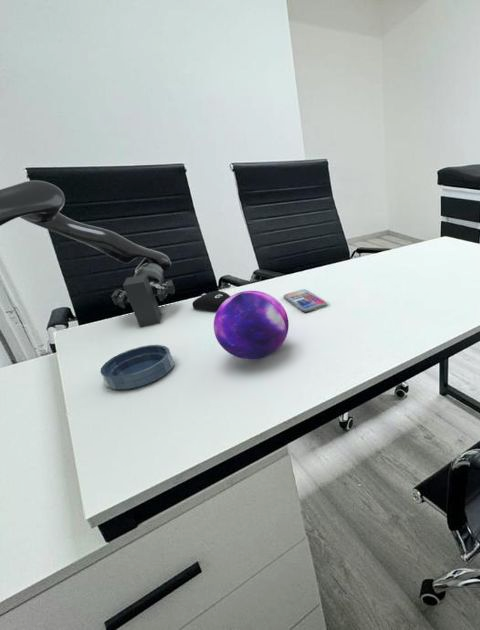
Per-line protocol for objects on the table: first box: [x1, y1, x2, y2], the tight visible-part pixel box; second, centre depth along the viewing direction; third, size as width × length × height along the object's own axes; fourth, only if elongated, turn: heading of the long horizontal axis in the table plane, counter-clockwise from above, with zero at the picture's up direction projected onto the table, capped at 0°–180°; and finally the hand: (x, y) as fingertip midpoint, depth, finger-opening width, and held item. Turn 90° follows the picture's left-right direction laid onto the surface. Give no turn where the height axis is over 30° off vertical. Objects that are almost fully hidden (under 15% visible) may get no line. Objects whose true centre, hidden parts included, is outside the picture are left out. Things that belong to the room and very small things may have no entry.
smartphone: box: [283, 288, 328, 313], centre depth 113 cm, size 7×1×15 cm
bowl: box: [100, 344, 175, 390], centre depth 82 cm, size 12×12×4 cm
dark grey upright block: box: [122, 275, 162, 328], centre depth 103 cm, size 4×6×12 cm
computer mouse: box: [191, 290, 232, 312], centre depth 112 cm, size 8×12×4 cm, turn 70°
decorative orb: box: [213, 290, 290, 360], centre depth 84 cm, size 15×15×15 cm
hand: (141, 301), depth 102 cm, fingers open, 8 cm apart
